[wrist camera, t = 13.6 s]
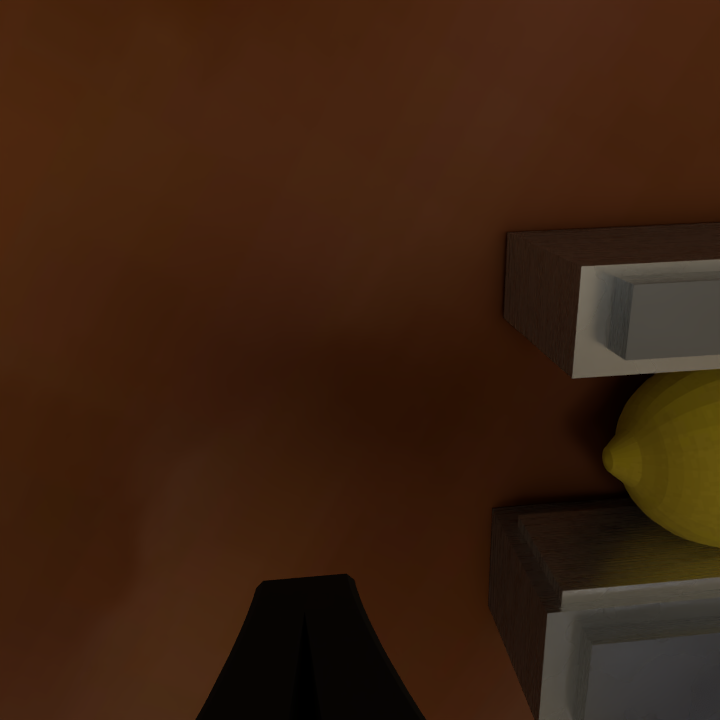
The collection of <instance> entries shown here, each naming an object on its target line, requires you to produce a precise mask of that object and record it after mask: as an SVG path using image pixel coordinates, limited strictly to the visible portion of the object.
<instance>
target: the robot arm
mask: <svg viewBox="0 0 720 720" xmlns="http://www.w3.org/2000/svg"><path fill="white" fill-rule="evenodd" d="M196 720H426V719H425V717H424V716H423V714H422V713H421V711H420V710H419V708H418V706H417V705H416V703H415V702H414V700H413V698H412V697H411V695H410V694H409V692H408V690H407V689H406V687H405V685H404V684H403V682H402V680H401V678H400V677H399V675H398V673H397V672H396V670H395V668H394V666H393V665H392V663H391V661H390V659H389V658H388V656H387V654H386V652H385V650H384V649H383V647H382V645H381V643H380V641H379V639H378V637H377V635H376V633H375V631H374V629H373V627H372V625H371V623H370V621H369V618H368V616H367V614H366V612H365V609H364V607H363V605H362V602H361V600H360V597H359V594H358V591H357V588H356V585H355V581H354V579H353V578H351V577H350V576H349V575H348V574H337V575H326V576H314V577H303V578H291V579H280V580H268V581H263V582H262V583H261V584H260V585H259V586H258V587H257V588H256V591H255V594H254V597H253V600H252V603H251V606H250V608H249V611H248V614H247V616H246V619H245V621H244V623H243V626H242V628H241V631H240V633H239V635H238V637H237V639H236V642H235V644H234V646H233V648H232V650H231V653H230V655H229V657H228V659H227V661H226V663H225V665H224V667H223V669H222V671H221V673H220V675H219V676H218V678H217V680H216V682H215V684H214V686H213V688H212V690H211V692H210V694H209V696H208V698H207V700H206V702H205V704H204V706H203V707H202V709H201V711H200V713H199V715H198V716H197V718H196Z"/></svg>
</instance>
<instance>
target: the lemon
mask: <svg viewBox="0 0 720 720" xmlns="http://www.w3.org/2000/svg"><path fill="white" fill-rule="evenodd" d="M602 460H603V464H604V467H605V469H606V470H607V471H608V472H610V473H611V474H612V475H613V476H615V477H616V478H617V479H619V480H620V481H621V482H623V484H624V486H625V489H626V490H627V492H628V494H629V495H630V497H631V498H632V499H633V501H634V502H635V503H636V504H637V506H638V507H639V508H640V509H641V510H642V511H643V512H644V513H645V514H646V515H647V516H648V517H649V518H650V519H652V520H653V521H654V522H656V523H657V524H659V525H660V526H662V527H663V528H665V529H666V530H668V531H670V532H671V533H673V534H675V535H677V536H679V537H681V538H684V539H686V540H689V541H693V542H696V543H700V544H704V545H708V546H713V547H718V548H720V369H709V370H693V371H678V372H662V373H656V374H654V375H653V376H652V377H650V378H649V379H647V380H646V381H645V382H644V383H643V384H642V385H641V386H640V387H639V388H638V389H637V390H636V391H635V392H634V393H633V394H632V396H631V397H630V398H629V400H628V401H627V402H626V404H625V406H624V408H623V410H622V413H621V415H620V417H619V419H618V423H617V427H616V434H615V436H614V437H613V438H612V439H611V440H610V442H609V443H608V444H607V446H606V447H605V448H604V450H603V453H602Z"/></svg>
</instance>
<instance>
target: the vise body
mask: <svg viewBox="0 0 720 720" xmlns="http://www.w3.org/2000/svg"><path fill="white" fill-rule="evenodd" d="M488 606H489V609H490V611H491V614H492V616H493V618H494V621H495V623H496V626H497V628H498V631H499V633H500V636H501V638H502V641H503V643H504V646H505V648H506V651H507V653H508V655H509V658H510V660H511V663H512V665H513V668H514V670H515V673H516V675H517V678H518V680H519V683H520V685H521V687H522V690H523V692H524V695H525V697H526V700H527V702H528V705H529V707H530V710H531V712H532V715H533V717H534V719H535V720H720V548H718V547H713V546H708V545H704V544H700V543H696V542H693V541H689V540H686V539H684V538H681V537H679V536H677V535H675V534H673V533H671V532H670V531H668V530H666V529H665V528H663V527H662V526H660V525H659V524H657V523H656V522H654V521H653V520H652V519H650V518H649V517H648V516H647V515H646V514H645V513H644V512H643V511H642V510H641V509H640V508H639V507H638V506H637V504H636V503H635V502H634V501H633V499H632V498H631V497H628V498H615V499H603V500H590V501H578V502H565V503H553V504H540V505H528V506H515V507H503V508H492V531H491V555H490V578H489V602H488Z"/></svg>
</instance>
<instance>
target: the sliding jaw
mask: <svg viewBox="0 0 720 720" xmlns="http://www.w3.org/2000/svg"><path fill="white" fill-rule="evenodd" d="M504 319H505V320H507V321H508V322H509V323H510V324H511V325H512V326H513V327H514V328H516V329H517V330H518V331H519V332H520V333H521V334H522V335H524V336H525V337H526V338H527V339H528V340H529V341H530V342H531V343H533V344H534V345H535V346H536V347H537V348H538V349H539V350H541V351H542V352H543V353H544V354H545V355H546V356H547V357H548V358H550V359H551V360H552V361H553V362H554V363H555V364H556V365H558V366H559V367H560V368H561V369H562V370H563V371H564V372H565V373H567V374H568V375H569V376H570V377H571V378H586V377H601V376H616V375H632V374H647V373H662V372H678V371H693V370H709V369H720V223H700V224H679V225H657V226H636V227H615V228H593V229H572V230H551V231H529V232H508V233H507V255H506V277H505V300H504Z"/></svg>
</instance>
